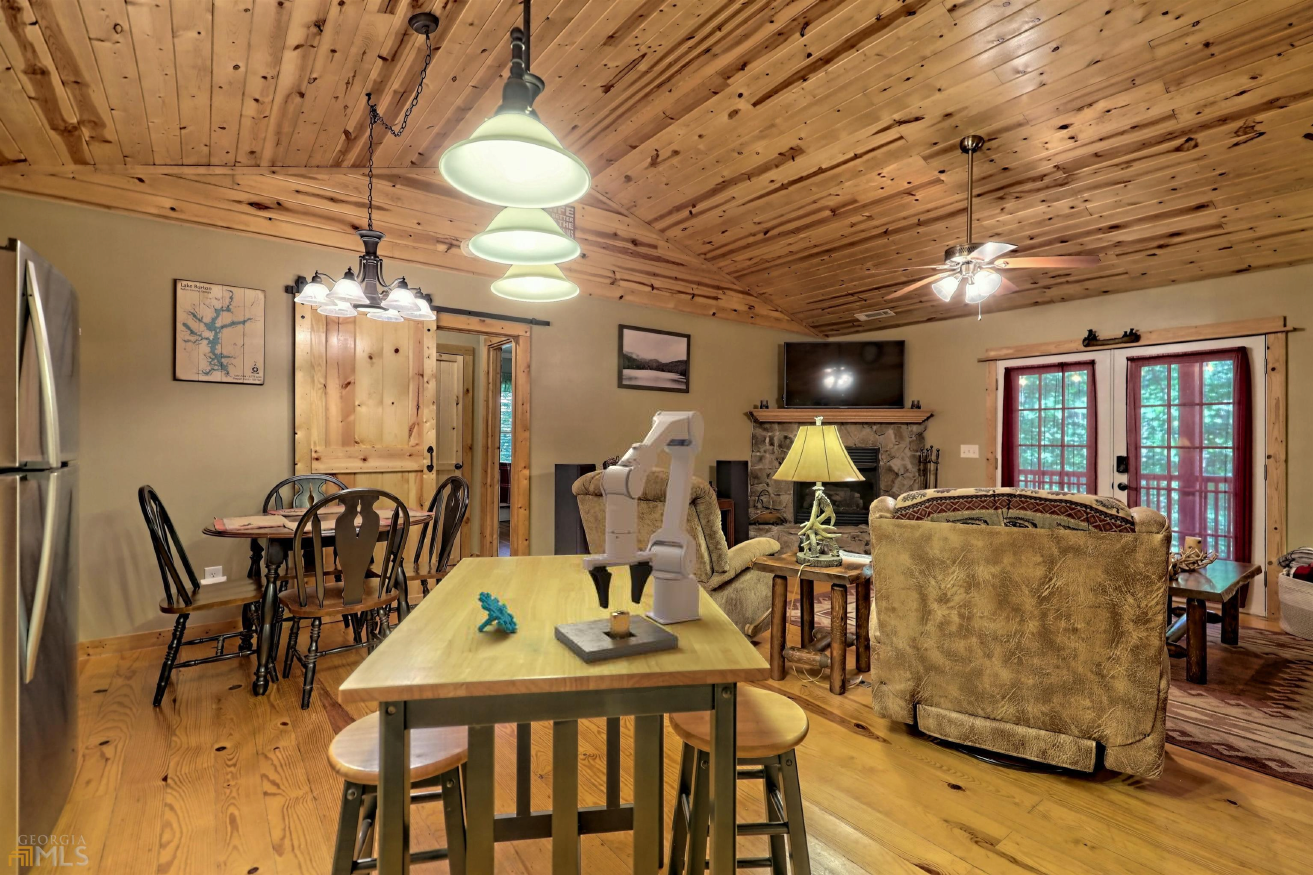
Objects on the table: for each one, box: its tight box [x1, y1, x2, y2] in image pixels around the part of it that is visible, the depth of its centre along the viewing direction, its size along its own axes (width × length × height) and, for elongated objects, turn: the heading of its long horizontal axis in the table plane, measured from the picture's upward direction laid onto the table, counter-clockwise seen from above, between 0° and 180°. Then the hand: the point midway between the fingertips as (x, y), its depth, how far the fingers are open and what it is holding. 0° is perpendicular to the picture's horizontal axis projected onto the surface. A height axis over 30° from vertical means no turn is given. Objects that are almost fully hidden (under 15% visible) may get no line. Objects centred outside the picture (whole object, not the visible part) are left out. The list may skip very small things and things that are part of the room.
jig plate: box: [553, 614, 679, 664], centre depth 118 cm, size 18×16×2 cm
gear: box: [477, 591, 518, 633], centre depth 124 cm, size 11×6×10 cm
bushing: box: [609, 609, 631, 640], centre depth 117 cm, size 4×4×6 cm
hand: (620, 605), depth 116 cm, fingers open, 6 cm apart
